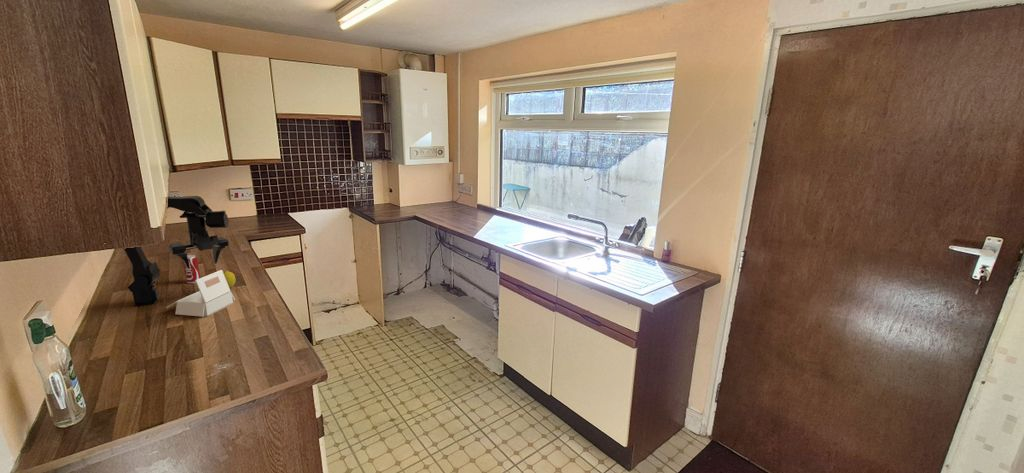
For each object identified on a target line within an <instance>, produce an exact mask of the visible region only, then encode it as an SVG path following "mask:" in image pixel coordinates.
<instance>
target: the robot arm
mask: <svg viewBox="0 0 1024 473" xmlns="http://www.w3.org/2000/svg"><path fill="white" fill-rule="evenodd" d="M167 208H172V209H176V210H179V211H182V212H183V213H181V215H179V218H180V219H186V223H187V225H186V226H187V233H188V238H189V241H188V242H189V244H183V243H182V242H181V243H180V242H179V243H173V244H172V243H171V244H168V246H167V249H168V253H170V254H172V255H176V256H178V257H179V258H180V259H181V260H182V263H183V262H184V264H185V265H186V267H187V268H188V269H190V267H189V262H188V258H187V255H188V253H187V251H188V250H193V249H198V251H200V252H201V251H202V252H203V251H205V250H212V255H213V256H212V257H213V258H212V259H213V263H214V265H215V264H218V259H219V256H220V255H221V252H222V251H223V250H224V249H226V247H229V246H230V244H229V240H228V239H226V238H225V237H223V236H221V237H219V236H218V235H211V236H210V234H209V232H208V230H207V227H209V229H221V228H222V229H223V228H224V229H225V228H228V227H229V216H228V215H227V212H226V210H218V211H213V210H212V209H211V208H210V207H209V206H208V205H207V204H206V202H205V200H204V198H202V196H199V195H183V196H168V207H167ZM123 250H124V252H125V254H126V256H127V257H128V260H129V261H130V263H131V265H132V266H131V267H132V268H131V272H132V277H133V281H132V283H131V284H129V285H128V286H127V289H128V290H129V292H131V293H132V297H133V302H134V303H133V305H132V306H133V307H138V306H147V305H152V304H153V305H154V304H155V303H156V302H157V301H158V299H160V297H159V293H158V288H156V286H155V284H156V281H157V280H158V279H159V278H160V276H161V271H162V270H161V269H160V268H159V266H158V262H156V261H154V262H151V261H149V260H148V258H147V257H146V255H145V253H144V251H143V249H142V247H141V246H140V247H134V248H126V249H124V248H123Z"/></svg>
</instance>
